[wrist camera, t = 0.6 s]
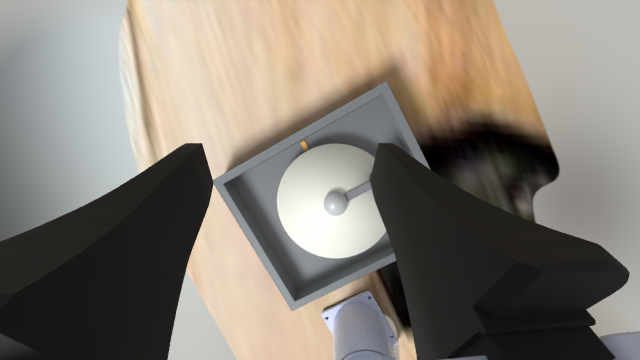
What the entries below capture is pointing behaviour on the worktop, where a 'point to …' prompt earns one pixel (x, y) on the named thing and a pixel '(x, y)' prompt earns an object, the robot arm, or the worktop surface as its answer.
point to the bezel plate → (263, 182)
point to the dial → (330, 201)
